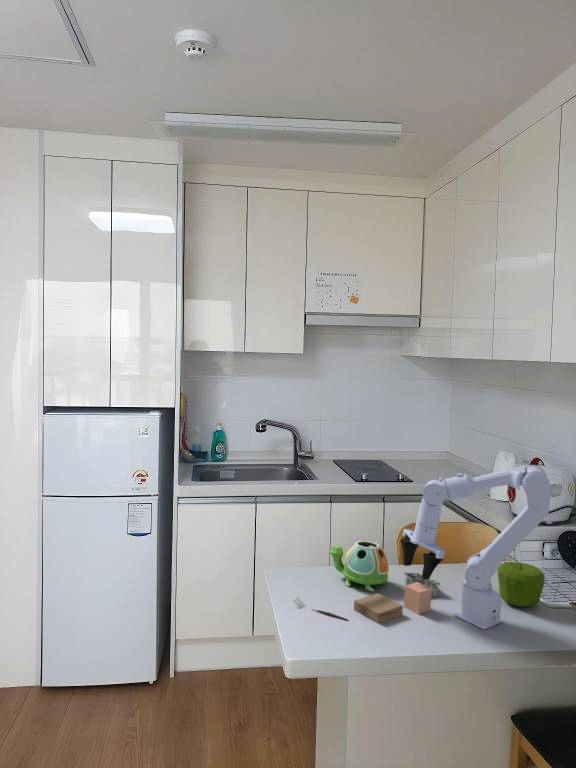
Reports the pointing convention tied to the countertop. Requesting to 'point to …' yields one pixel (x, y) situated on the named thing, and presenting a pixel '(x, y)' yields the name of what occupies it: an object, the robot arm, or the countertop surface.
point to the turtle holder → (362, 564)
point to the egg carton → (418, 578)
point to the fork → (320, 611)
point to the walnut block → (378, 608)
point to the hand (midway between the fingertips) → (416, 571)
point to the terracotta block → (417, 598)
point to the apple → (520, 583)
